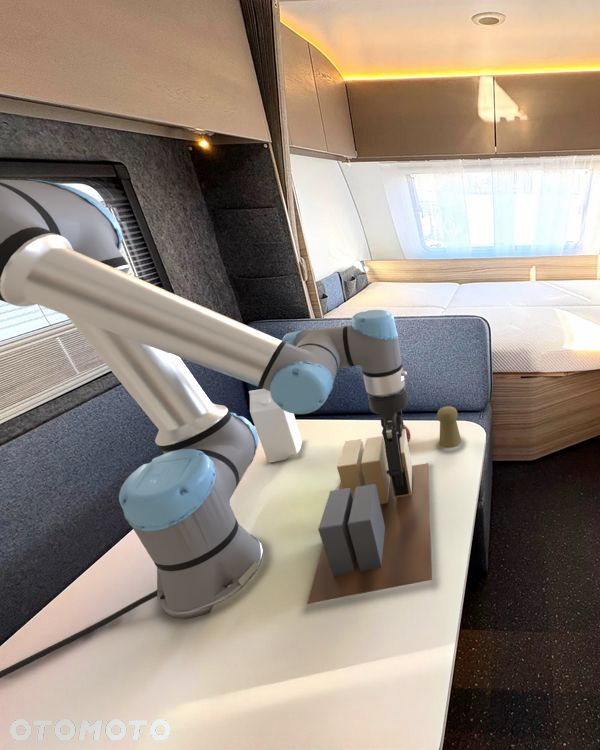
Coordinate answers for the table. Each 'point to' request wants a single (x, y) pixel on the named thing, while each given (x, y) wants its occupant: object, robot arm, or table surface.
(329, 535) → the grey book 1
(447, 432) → the olive pawn
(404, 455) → the cream book
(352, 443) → the cream book
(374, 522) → the grey rectangular block
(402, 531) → the shelf board
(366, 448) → the cream book
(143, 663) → the table surface
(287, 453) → the milk carton
